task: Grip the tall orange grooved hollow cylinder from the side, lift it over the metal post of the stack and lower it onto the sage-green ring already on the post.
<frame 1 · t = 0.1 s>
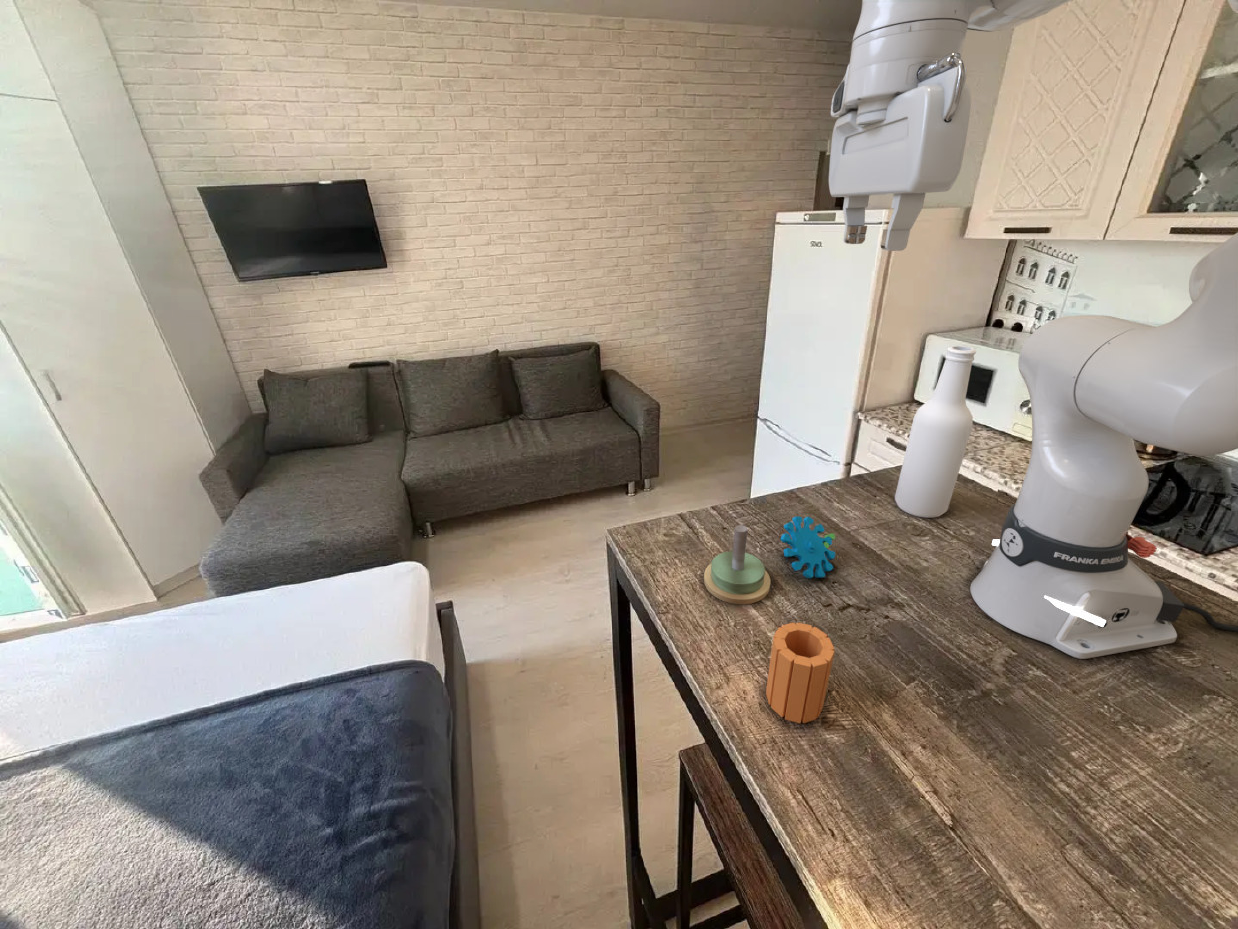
hand: (871, 246, 51), 48 cm above the table, tool pointing down, fingers open, 8 cm apart
orange grooved hollow cylinder: (793, 699, 60), on the table
gear: (807, 565, 82), on the table
ring stack: (736, 582, 79), on the table
alcohol: (919, 507, 96), on the table
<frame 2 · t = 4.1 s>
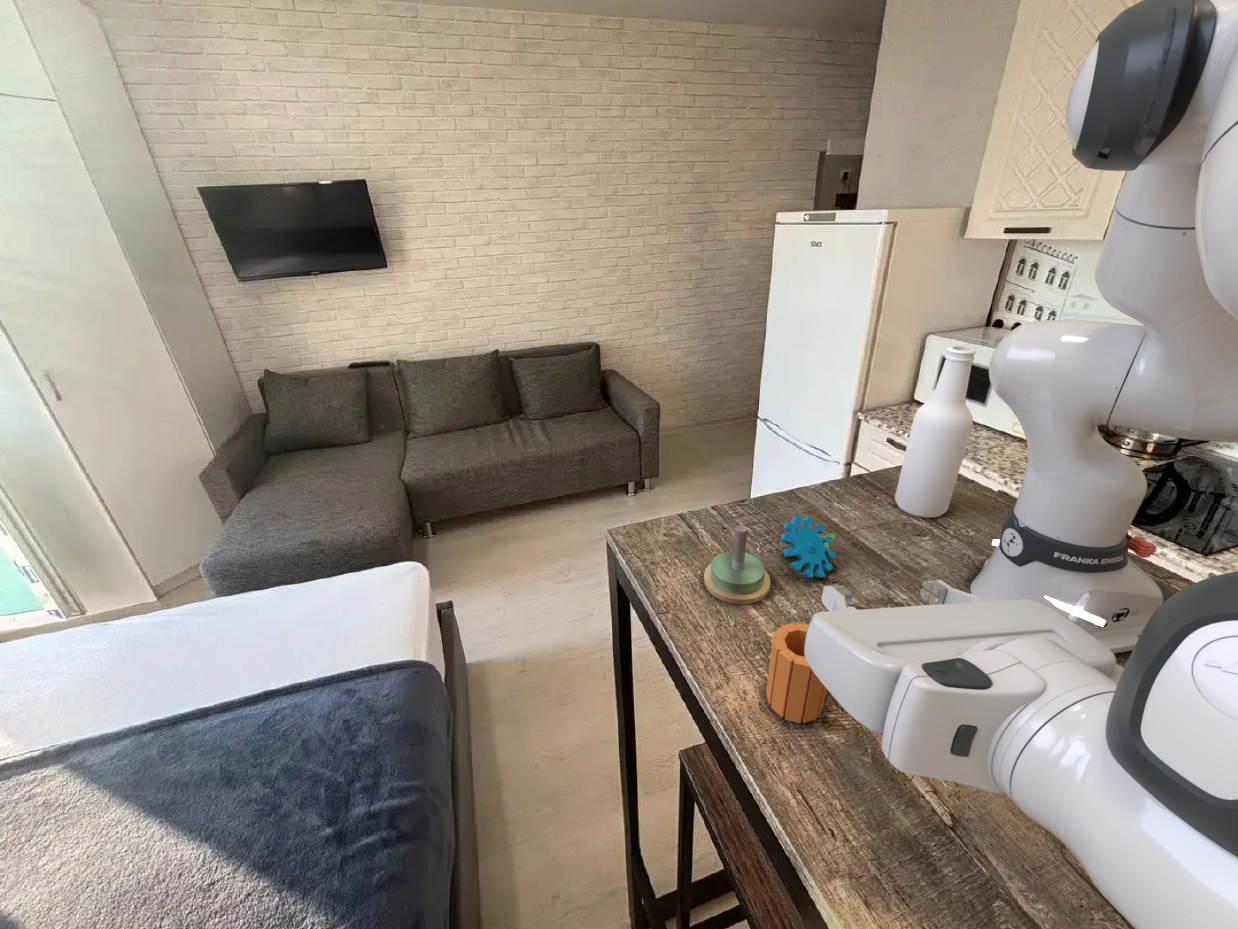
hand: (880, 589, 43), 22 cm above the table, tool horizontal, fingers open, 8 cm apart
nothing on the table moved.
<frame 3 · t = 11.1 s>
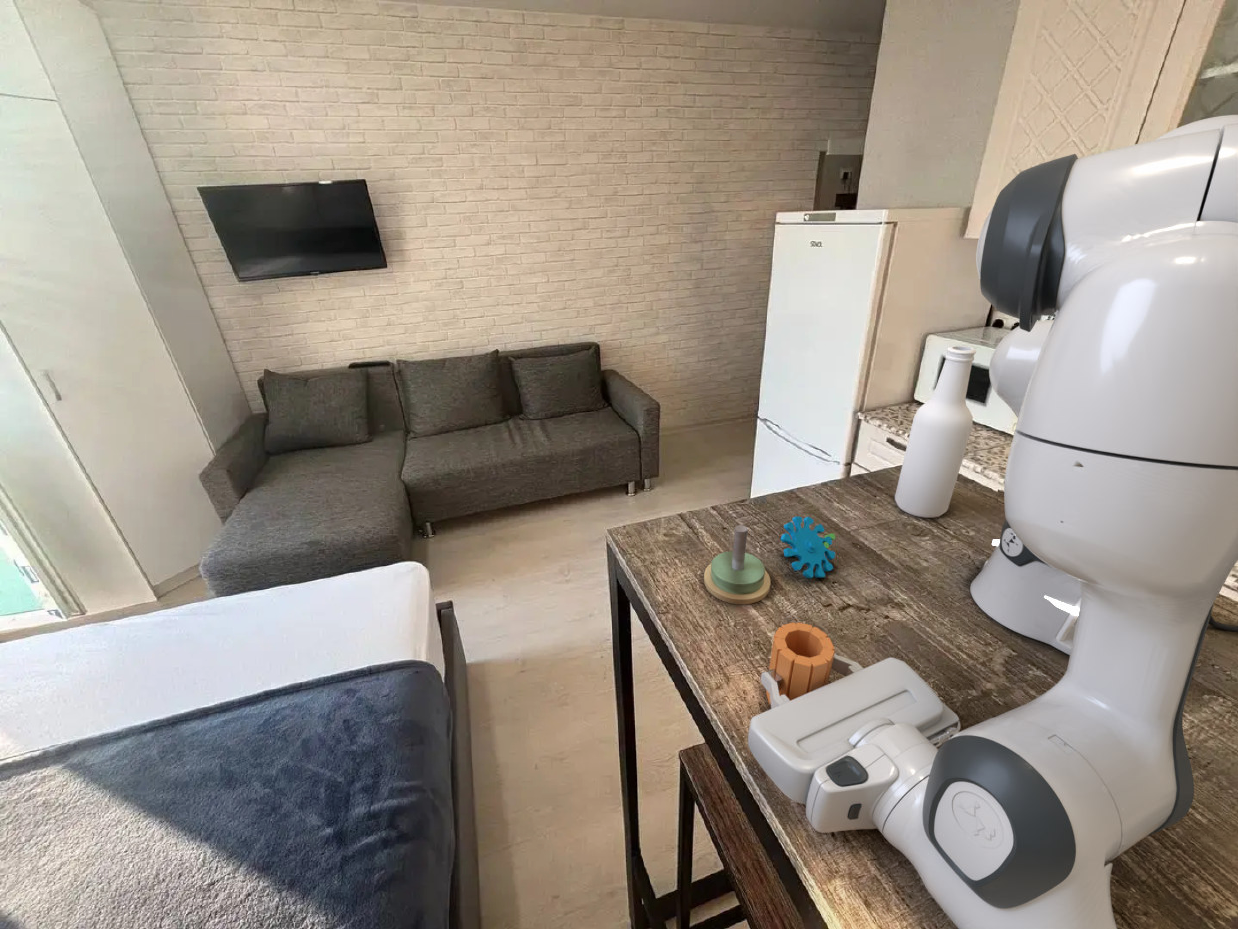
hand: (793, 663, 58), 5 cm above the table, tool horizontal, fingers closed on orange grooved hollow cylinder, 6 cm apart
orange grooved hollow cylinder: (794, 699, 60), on the table, touching gripper
everything else where it was.
when the fingers open (8 cm above the table, at t = 21.5 s): orange grooved hollow cylinder stays where it is, resting on ring stack.
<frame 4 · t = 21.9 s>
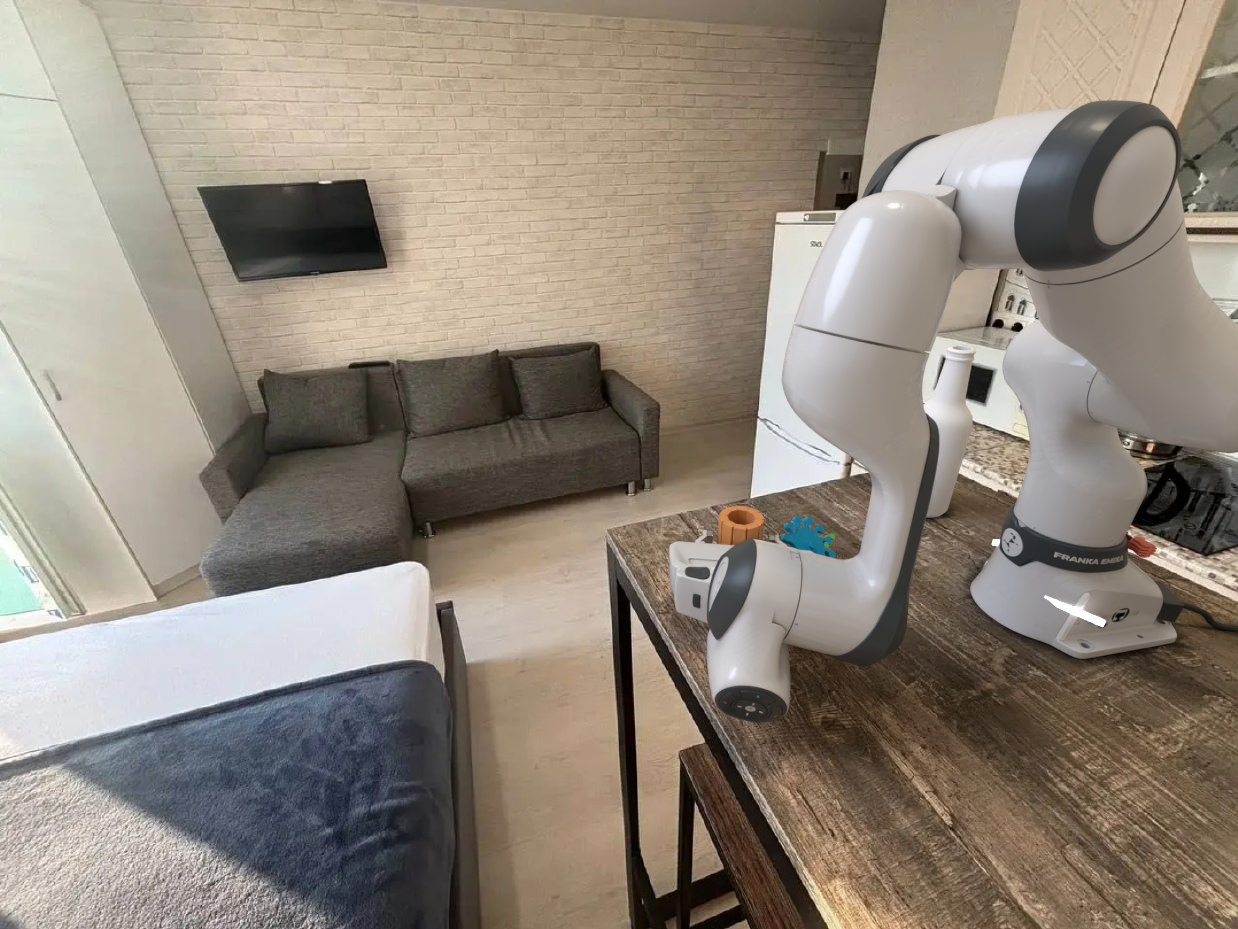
hand: (740, 535, 76), 8 cm above the table, tool horizontal, fingers open, 8 cm apart
orange grooved hollow cylinder: (737, 566, 77), point 3 cm above the table, touching ring stack
everything else where it was.
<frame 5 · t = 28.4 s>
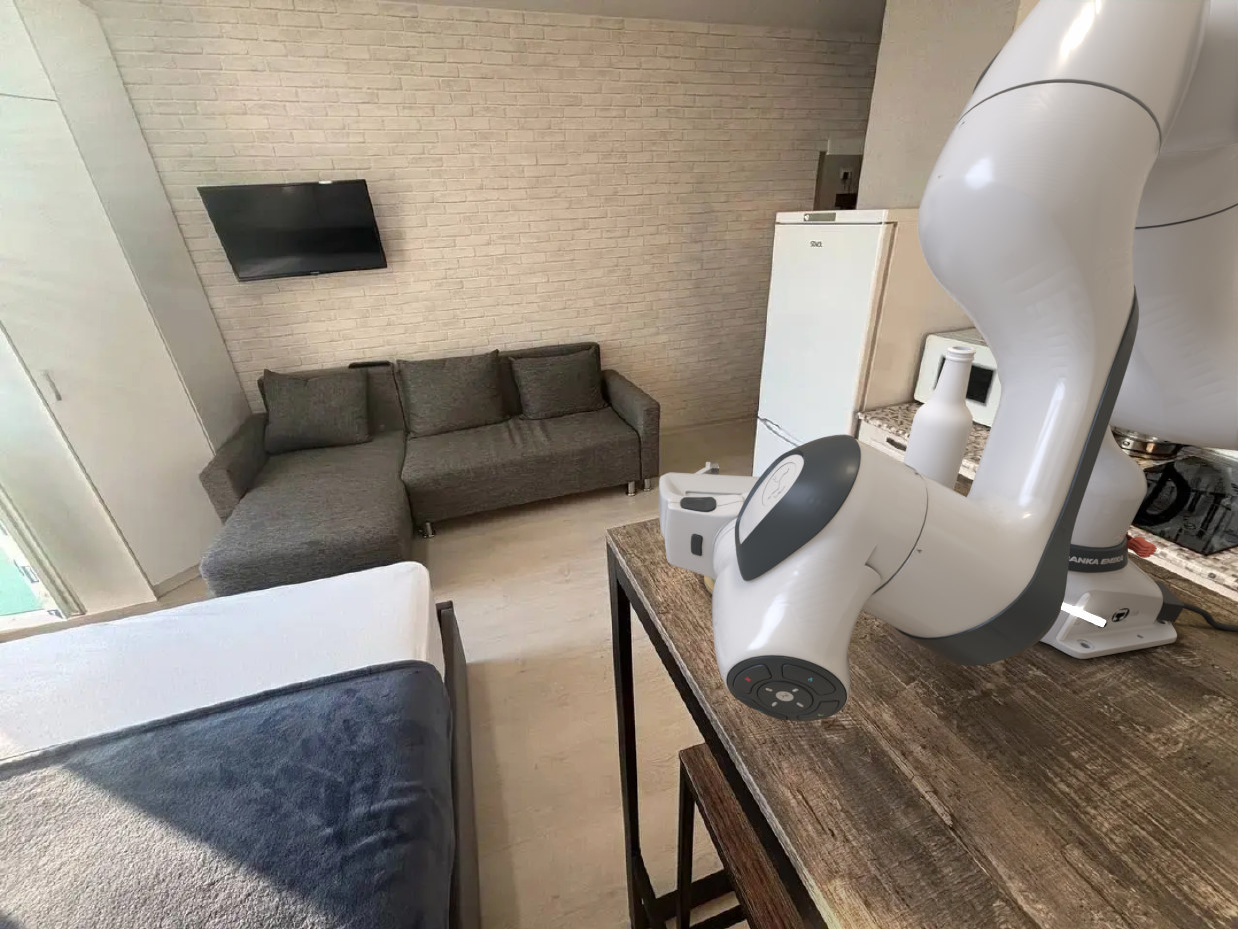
hand: (755, 469, 56), 26 cm above the table, tool horizontal, fingers open, 8 cm apart
nothing on the table moved.
at the end: orange grooved hollow cylinder 0.1 cm off-centre on the ring stack, point 3.0 cm above the ring stack's base; orange grooved hollow cylinder tilted 0° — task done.
